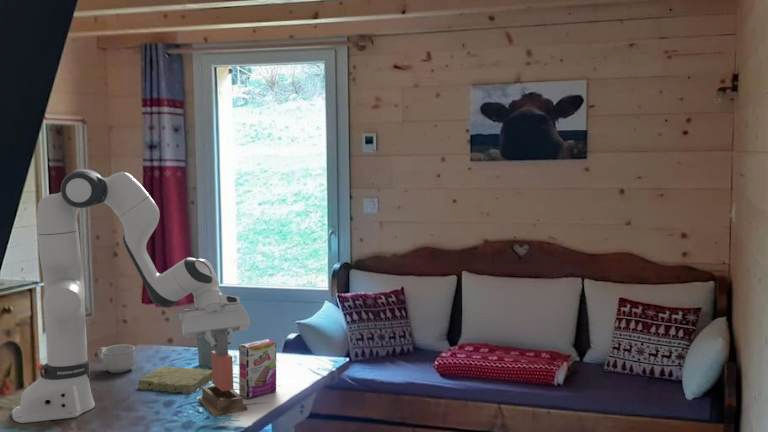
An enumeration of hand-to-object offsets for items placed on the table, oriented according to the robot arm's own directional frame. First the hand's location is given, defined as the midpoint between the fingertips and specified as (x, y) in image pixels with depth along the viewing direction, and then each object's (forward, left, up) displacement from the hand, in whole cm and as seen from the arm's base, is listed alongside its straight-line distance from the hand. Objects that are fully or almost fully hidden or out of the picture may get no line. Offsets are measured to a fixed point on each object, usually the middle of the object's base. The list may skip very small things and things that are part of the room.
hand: (221, 344), depth 228 cm
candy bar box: (+13, +5, -19) cm, 24 cm away
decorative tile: (-6, +30, -19) cm, 36 cm away
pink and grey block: (0, +1, -13) cm, 13 cm away
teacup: (-20, +56, -19) cm, 62 cm away
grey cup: (+11, +46, -19) cm, 51 cm away
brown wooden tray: (0, +1, -19) cm, 19 cm away
